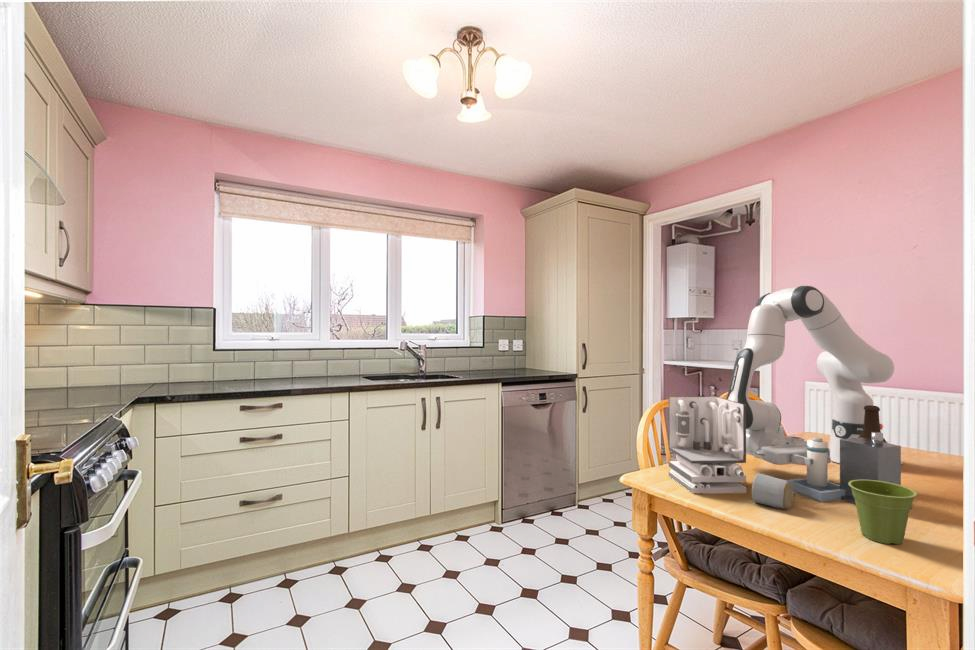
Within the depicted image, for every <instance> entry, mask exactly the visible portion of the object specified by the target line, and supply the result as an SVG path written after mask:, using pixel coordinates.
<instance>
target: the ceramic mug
mask: <svg viewBox="0 0 975 650" xmlns="http://www.w3.org/2000/svg"><path fill="white" fill-rule="evenodd" d="M793 496H794V492H793V487H792V485H791V483H789V482H787V481H786V480H785V479H781V478H777V477H774V476H771V475H767V474H764V473H761V472H760V473H759V472H758V473H756V474H755V476H754V478H753V482H752V487H751V497H752V501H753V502H754V503H757V504H761V505H765V506H769V507H773V508H778V509H783V510H786V509H789V508H790V506H791V505H792V501H793Z"/></svg>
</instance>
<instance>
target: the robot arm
mask: <svg viewBox="0 0 975 650" xmlns="http://www.w3.org/2000/svg"><path fill="white" fill-rule="evenodd" d="M797 320H798V321H799V320H801V323H802V324H803V326H804V328H805V329H806V330H807V332H808V333H809V335H810V336H811V338H812V340H813V341H814V342H815V343H816V345H817V346H818V347H819V348H820V349H821V350H824V351H823V352H821V353H820V354H819V355H818V357H817V359H816V367H817V368H816V369H818V371H819V372H820V373H821V375H822V376H824V378H825V379H826V382H827V384H828V385H829V389H830V391H831V395H832V396H831V397H832V400H833V401H832V404H833V419H831V421H832V422H831V429H832V430H833V431H832V432H831V433H830V437H829V445H828V464H830V463H831V462H834V463H837V464H840V439H849V438H858V437H859V436H860V435H861V434H862V432H863V428H864V416H865V410H864V406H866V405H873V406H874V400H873V398H872V397H871V396H870V395H869V394H867V392H866V391H865V389H864V388H863V385H862V383H863V384H878V383H879V384H880V383H884V382H887V381H889V380H890V379H891V378H892V377H893V375H894V373H895V364H894V361H893V359H892V358H891V357H890V356H889V355H887V354H885V353H883V352H881V351H879V350H877V349H875V347H872V346H871V345H870V344H868V343H867V342H866V341H865V340H863V338H862V337H861V336H859V335H858V334H857V333H856V332H855V331H854V330H853V329H852V327H851V326H850V325H849V323H848V322H847V321H846V319H845V317H844V316H843V315H842V313H841V312H840V311H839V309H838V308H837V306H836V305H835V304H834V303H833V302H832V301H831V299H829V298H828V297H827V295H826V294H824V293H823V292H821V291H820V290H819V289H818V288H816V287H815V286H812V285H800V286H796V287H788V288H787V287H786V288H783V289H781V290H777V291H774V292H768V293H766V294H763V295H762V296H760V297H759V298H758V299H757V301H756V304H755V307H754V308H753V309H752V311H751V312H750V315H749V320H748V324H747V325H748V326H747V332H746V340H745V345H744V347H743V348H742V350H740V351H739V352H738V353H737V355H736V358H735V362H734V365H733V370H732V373H731V378H730V383H729V388H728V392H727V396H726V398H725V399H727V400H731V401H734V402H738V403H741V404H745V405H746V455H749V456H751V457H752V456H753V457H754V456H755V457H754V458H757V457H761V458H760V459H761V460H764V461H766V462H768V463H771V464H773V465H778V466H779V465H781V466H784V465H790V464H792V465H794V464H803V465H806V466H807V465H813V464H814V463H813V461H814V460H813V458H809V457H807V440H805V438H802V437H800V436H799V437H797V436H787V435H785V434H784V435H779V434H778V431H779V428H780V426H781V423H782V415H781V414H782V413H781V411H780V409H779V408H778V406H777V405H776V404H774V403H772V402H768V401H763V400H754V399H750V398H749V394H750V389H751V385H752V379H753V375H754V372H756V370H757V369H758V368H760V367H762V366H763V367H764V366H766V365H770V364H773V363H775V362H777V361H778V360H779V359H780V358H782V356H783V355H784V351H785V342H786V323H787V322H792V321H797ZM883 428H884V425H883V423H880V431H882V430H883ZM886 442H887V443H889V442H888V441H887V440H886ZM903 464H904V463H903V461H902V460H901V465H903Z"/></svg>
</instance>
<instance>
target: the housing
mask: <svg viewBox="0 0 975 650" xmlns="http://www.w3.org/2000/svg"><path fill="white" fill-rule="evenodd" d="M883 438H884V433H883V432H881V433H880V432H871V439H866V438H862V437H861V438H849V439H840V463H839V485H840V489H844V490H845V496H841V500H840V501H843V502H846V503H850V504H852V505H854V506H856V503H855V498H854V496H853V493H852V489H851V487H850V486H849V485H848V483H849V481H852V480H877V481H883V482H889V483H893V484H897V485H901V486H902V482H901V481H902V477H901V476H902V473H901V472H902V466H901V465H902V464H901V461H902V459H901V458H902V456H901V455H902V447H901V445H899V444H894V443H890V442H888V443H885V442H883ZM910 510H912V506H911V507H910Z"/></svg>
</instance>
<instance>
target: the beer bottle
mask: <svg viewBox="0 0 975 650" xmlns="http://www.w3.org/2000/svg"><path fill="white" fill-rule="evenodd" d="M864 410H865V416H864V428H863V432H862V434H861V435H860V436H859V437H858V438H861V437H862V438H866V439H871V432H880V433H882V432H881V431H882V430H880V424H881V423H880V411H881V409H880V407H879V406H877V405H874V404H873V405H866V406H864ZM886 441H887V440H886V439H885V438H884V437H883V442H885V443H887V442H888V441H887V442H886Z"/></svg>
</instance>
